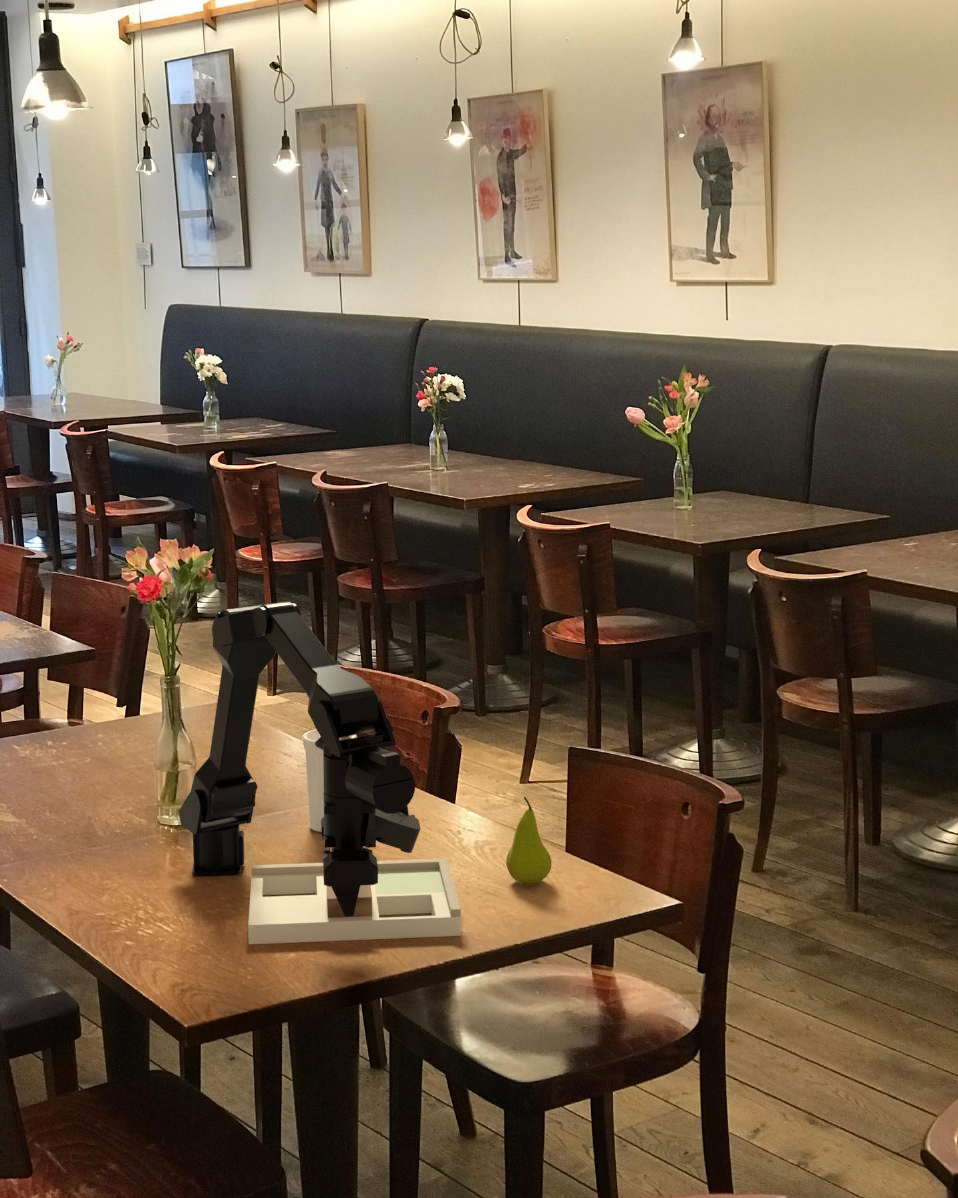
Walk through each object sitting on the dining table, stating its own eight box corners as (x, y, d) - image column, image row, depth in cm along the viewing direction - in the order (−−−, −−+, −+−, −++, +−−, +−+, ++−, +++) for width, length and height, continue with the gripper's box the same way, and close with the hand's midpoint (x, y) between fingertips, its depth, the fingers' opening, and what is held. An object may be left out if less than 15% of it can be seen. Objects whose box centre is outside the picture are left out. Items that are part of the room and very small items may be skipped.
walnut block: (327, 918, 197) (327, 898, 197) (326, 901, 202) (326, 882, 202) (372, 916, 198) (372, 897, 197) (370, 899, 203) (370, 881, 203)
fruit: (548, 893, 212) (549, 806, 210) (502, 890, 213) (502, 804, 211) (554, 876, 219) (555, 792, 216) (509, 873, 220) (510, 789, 217)
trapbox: (248, 944, 195) (248, 917, 195) (252, 890, 213) (251, 865, 212) (460, 936, 198) (460, 909, 197) (446, 883, 216) (446, 858, 215)
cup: (293, 833, 235) (292, 739, 232) (319, 816, 243) (318, 725, 240) (342, 840, 232) (341, 745, 230) (367, 823, 240) (366, 731, 237)
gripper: (421, 814, 181) (421, 944, 184) (410, 765, 199) (410, 884, 202) (323, 817, 180) (324, 947, 183) (320, 768, 198) (321, 887, 201)
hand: (348, 915), depth 192 cm, fingers closed
